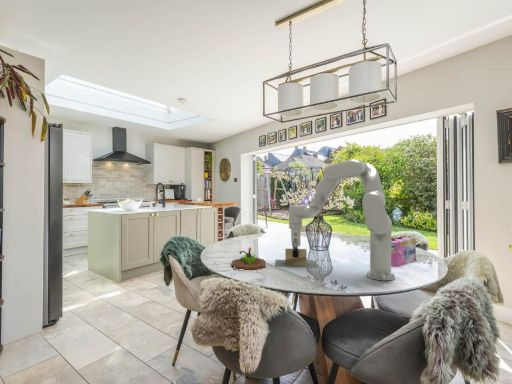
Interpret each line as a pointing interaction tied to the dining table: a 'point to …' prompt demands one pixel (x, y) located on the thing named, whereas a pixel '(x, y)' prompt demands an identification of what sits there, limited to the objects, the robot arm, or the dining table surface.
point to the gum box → (402, 251)
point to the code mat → (309, 265)
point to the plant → (248, 262)
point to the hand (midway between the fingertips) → (295, 255)
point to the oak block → (294, 260)
